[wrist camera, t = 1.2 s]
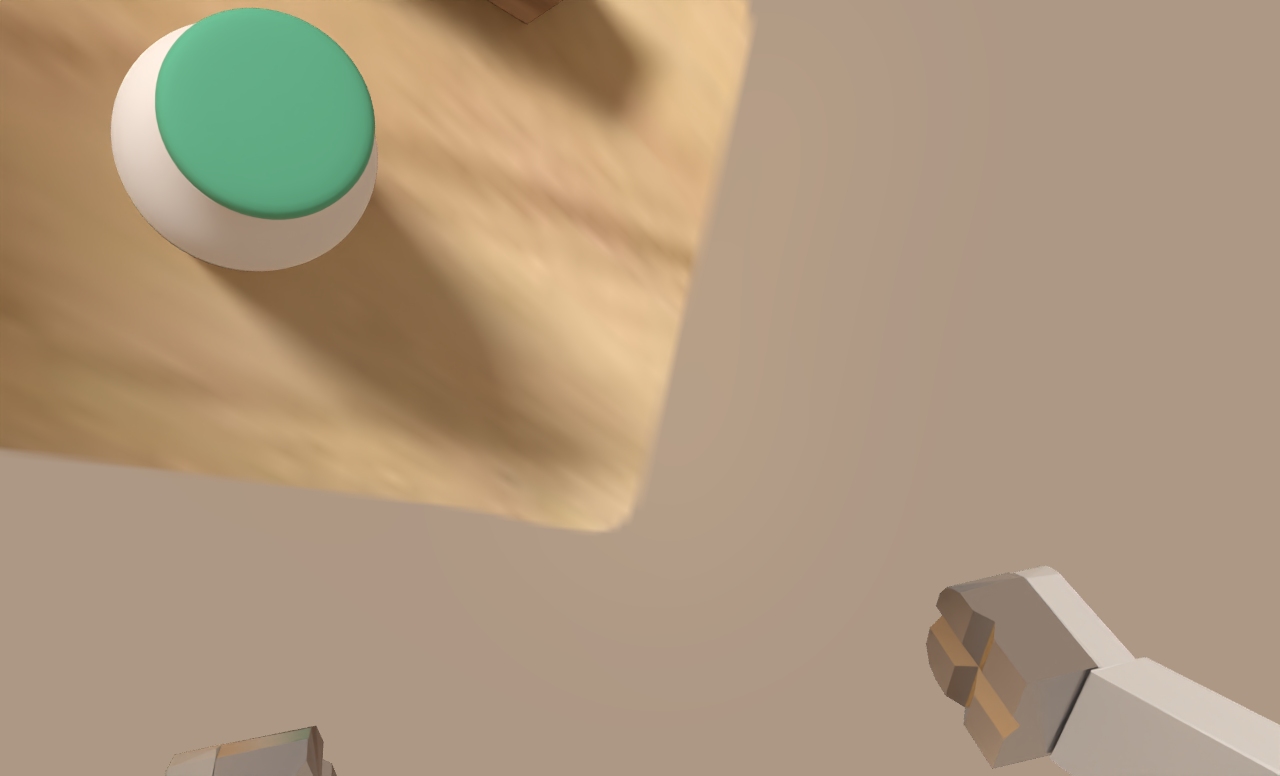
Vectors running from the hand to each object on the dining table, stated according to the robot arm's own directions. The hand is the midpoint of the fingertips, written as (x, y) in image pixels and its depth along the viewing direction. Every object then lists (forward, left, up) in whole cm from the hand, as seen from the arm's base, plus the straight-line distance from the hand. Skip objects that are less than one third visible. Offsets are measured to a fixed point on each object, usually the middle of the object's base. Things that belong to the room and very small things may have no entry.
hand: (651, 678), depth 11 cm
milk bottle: (-1, +9, -32) cm, 34 cm away
